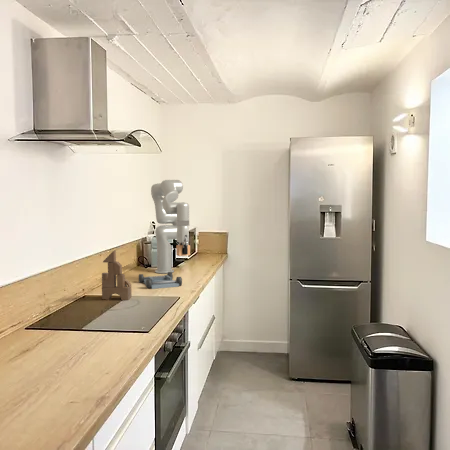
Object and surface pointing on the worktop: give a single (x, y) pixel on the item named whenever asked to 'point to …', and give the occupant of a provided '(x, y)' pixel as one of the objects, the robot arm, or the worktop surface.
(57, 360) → the worktop surface
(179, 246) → the block
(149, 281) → the chassis
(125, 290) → the wooden toy
